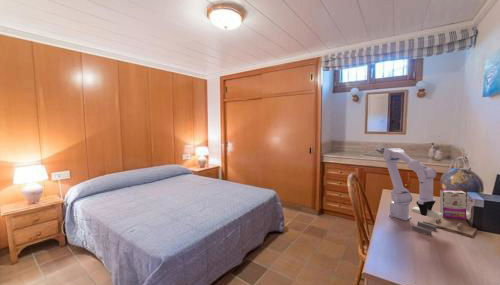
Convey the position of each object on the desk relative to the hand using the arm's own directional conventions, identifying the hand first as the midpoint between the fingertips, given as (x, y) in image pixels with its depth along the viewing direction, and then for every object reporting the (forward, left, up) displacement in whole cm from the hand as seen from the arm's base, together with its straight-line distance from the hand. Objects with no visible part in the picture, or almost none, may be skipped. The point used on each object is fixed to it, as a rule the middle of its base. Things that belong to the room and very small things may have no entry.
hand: (425, 214), depth 113 cm
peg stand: (+7, +13, -9) cm, 17 cm away
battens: (0, -1, -9) cm, 9 cm away
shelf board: (0, 0, 0) cm, 0 cm away
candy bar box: (+5, +31, -9) cm, 33 cm away
